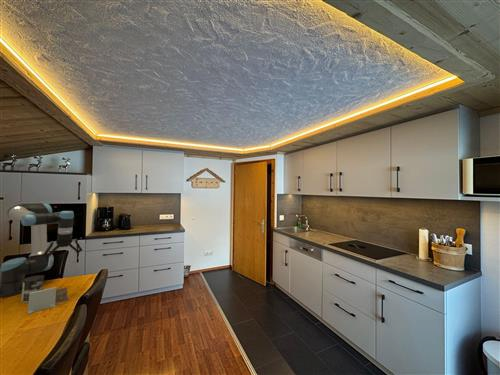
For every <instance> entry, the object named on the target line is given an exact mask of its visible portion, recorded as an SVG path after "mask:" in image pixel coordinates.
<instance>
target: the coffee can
mask: <svg viewBox="0 0 500 375" xmlns="http://www.w3.org/2000/svg"><path fill="white" fill-rule="evenodd" d="M44 283H45V275H41V274H39V275H37V274H36V275H30V276H28V277H25V279H23V287H22V293H21V297H20V298H21V299H20V302H21V303H29V293H32V292H36V291H41V290H44Z"/></svg>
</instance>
